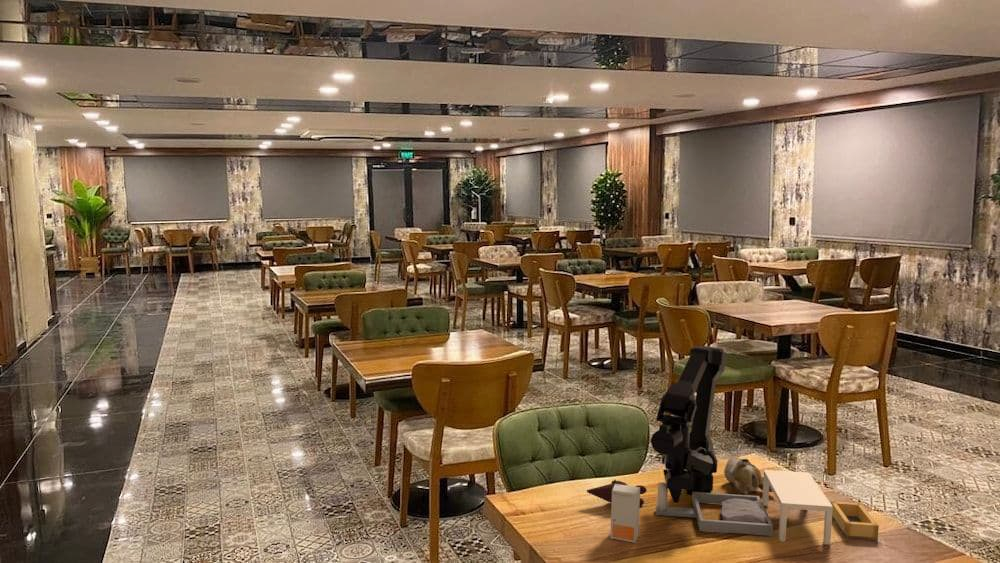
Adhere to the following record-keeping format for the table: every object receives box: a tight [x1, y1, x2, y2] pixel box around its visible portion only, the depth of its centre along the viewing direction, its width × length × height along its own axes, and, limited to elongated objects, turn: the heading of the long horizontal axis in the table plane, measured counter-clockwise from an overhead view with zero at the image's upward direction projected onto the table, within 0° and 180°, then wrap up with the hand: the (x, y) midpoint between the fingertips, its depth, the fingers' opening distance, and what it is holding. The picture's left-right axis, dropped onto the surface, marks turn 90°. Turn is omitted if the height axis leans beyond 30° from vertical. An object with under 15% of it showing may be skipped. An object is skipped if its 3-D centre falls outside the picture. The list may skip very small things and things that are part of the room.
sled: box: [655, 482, 774, 537], centre depth 176 cm, size 26×17×7 cm, turn 81°
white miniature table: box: [761, 469, 833, 546], centre depth 173 cm, size 11×20×9 cm, turn 171°
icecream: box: [586, 479, 648, 506], centre depth 182 cm, size 7×8×15 cm
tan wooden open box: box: [830, 501, 880, 541], centre depth 171 cm, size 7×12×4 cm, turn 171°
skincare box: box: [610, 484, 641, 544], centre depth 165 cm, size 6×4×12 cm
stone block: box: [721, 499, 767, 524], centre depth 175 cm, size 12×5×10 cm
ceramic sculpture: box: [723, 453, 773, 495], centre depth 193 cm, size 11×9×15 cm
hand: (675, 502), depth 177 cm, fingers closed
